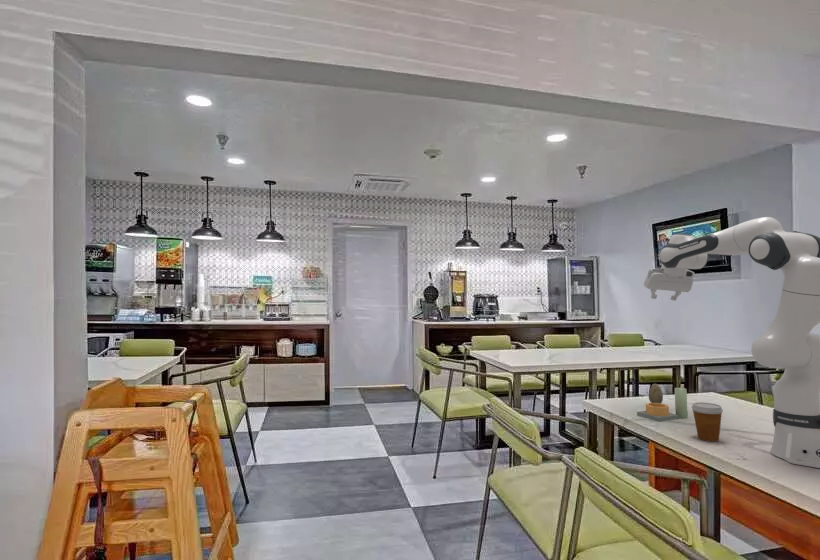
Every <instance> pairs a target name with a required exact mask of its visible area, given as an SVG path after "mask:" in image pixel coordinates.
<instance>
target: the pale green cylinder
mask: <svg viewBox="0 0 820 560" xmlns="http://www.w3.org/2000/svg"><path fill="white" fill-rule="evenodd" d="M687 393H688V392H687V388H685V387H674V407H675V409H674V410H675V414H676V415H678V417H679V419H684V418H685V419H688V418H689V417H688V416H689V414H688V411H689V410H688V394H687Z"/></svg>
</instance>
